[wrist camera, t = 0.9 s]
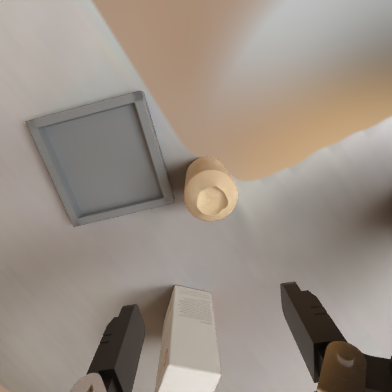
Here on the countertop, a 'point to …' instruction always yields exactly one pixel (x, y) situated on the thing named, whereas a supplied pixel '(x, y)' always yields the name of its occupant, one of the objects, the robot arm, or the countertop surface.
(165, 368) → the small box
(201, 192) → the candle
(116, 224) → the countertop surface
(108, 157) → the rest tray
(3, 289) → the countertop surface
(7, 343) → the countertop surface
